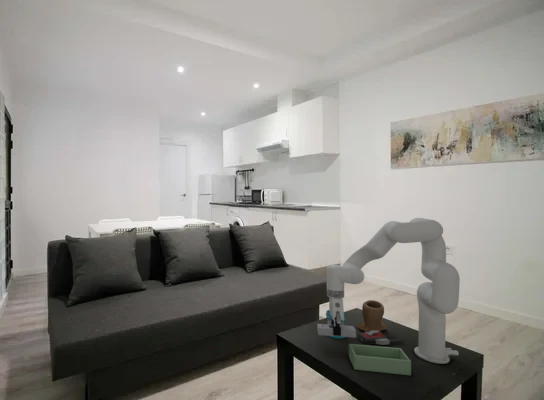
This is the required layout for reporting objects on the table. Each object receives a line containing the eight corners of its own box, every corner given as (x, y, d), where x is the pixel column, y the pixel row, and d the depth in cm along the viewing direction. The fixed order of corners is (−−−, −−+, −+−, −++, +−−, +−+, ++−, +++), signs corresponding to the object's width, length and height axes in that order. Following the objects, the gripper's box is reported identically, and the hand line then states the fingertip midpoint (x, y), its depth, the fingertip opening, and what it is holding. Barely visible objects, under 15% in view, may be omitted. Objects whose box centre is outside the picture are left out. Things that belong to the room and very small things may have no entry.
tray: (400, 361, 124) (400, 348, 124) (411, 375, 114) (411, 361, 114) (348, 356, 128) (348, 343, 128) (354, 369, 118) (354, 355, 118)
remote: (353, 332, 135) (353, 325, 135) (356, 337, 131) (355, 330, 131) (317, 330, 138) (317, 323, 138) (318, 335, 134) (318, 327, 134)
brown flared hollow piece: (371, 337, 145) (371, 307, 145) (353, 327, 156) (353, 299, 156) (394, 333, 150) (394, 303, 149) (375, 323, 161) (376, 296, 161)
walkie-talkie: (366, 347, 135) (404, 343, 139) (366, 338, 135) (404, 334, 139) (354, 338, 144) (390, 335, 147) (354, 329, 144) (390, 326, 147)
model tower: (337, 328, 155) (337, 271, 155) (350, 337, 145) (351, 276, 145) (321, 330, 152) (321, 272, 152) (333, 339, 143) (334, 277, 142)
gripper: (348, 299, 125) (349, 342, 125) (340, 287, 142) (341, 325, 142) (329, 298, 127) (330, 341, 127) (324, 286, 143) (324, 324, 144)
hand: (336, 332), depth 134 cm, fingers closed on remote, 4 cm apart
